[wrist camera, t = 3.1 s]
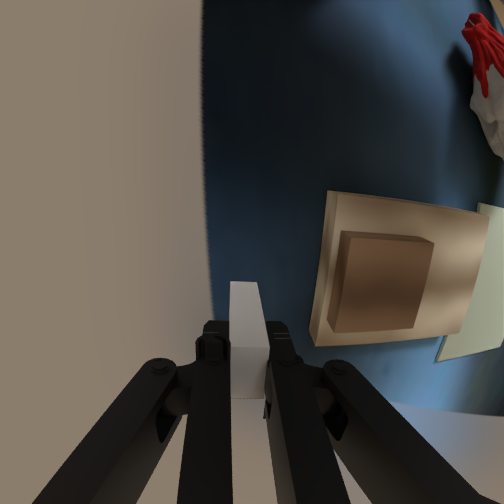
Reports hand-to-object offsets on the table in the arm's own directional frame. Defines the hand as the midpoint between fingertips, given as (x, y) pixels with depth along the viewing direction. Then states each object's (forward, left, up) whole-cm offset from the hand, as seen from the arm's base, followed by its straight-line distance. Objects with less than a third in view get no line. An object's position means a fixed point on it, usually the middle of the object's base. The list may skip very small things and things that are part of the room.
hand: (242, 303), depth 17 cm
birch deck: (0, +14, -6) cm, 15 cm away
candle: (-19, +23, -7) cm, 31 cm away
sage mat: (+2, +29, -6) cm, 30 cm away
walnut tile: (0, +10, -4) cm, 11 cm away
